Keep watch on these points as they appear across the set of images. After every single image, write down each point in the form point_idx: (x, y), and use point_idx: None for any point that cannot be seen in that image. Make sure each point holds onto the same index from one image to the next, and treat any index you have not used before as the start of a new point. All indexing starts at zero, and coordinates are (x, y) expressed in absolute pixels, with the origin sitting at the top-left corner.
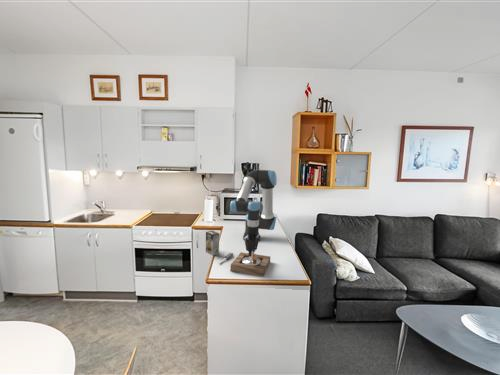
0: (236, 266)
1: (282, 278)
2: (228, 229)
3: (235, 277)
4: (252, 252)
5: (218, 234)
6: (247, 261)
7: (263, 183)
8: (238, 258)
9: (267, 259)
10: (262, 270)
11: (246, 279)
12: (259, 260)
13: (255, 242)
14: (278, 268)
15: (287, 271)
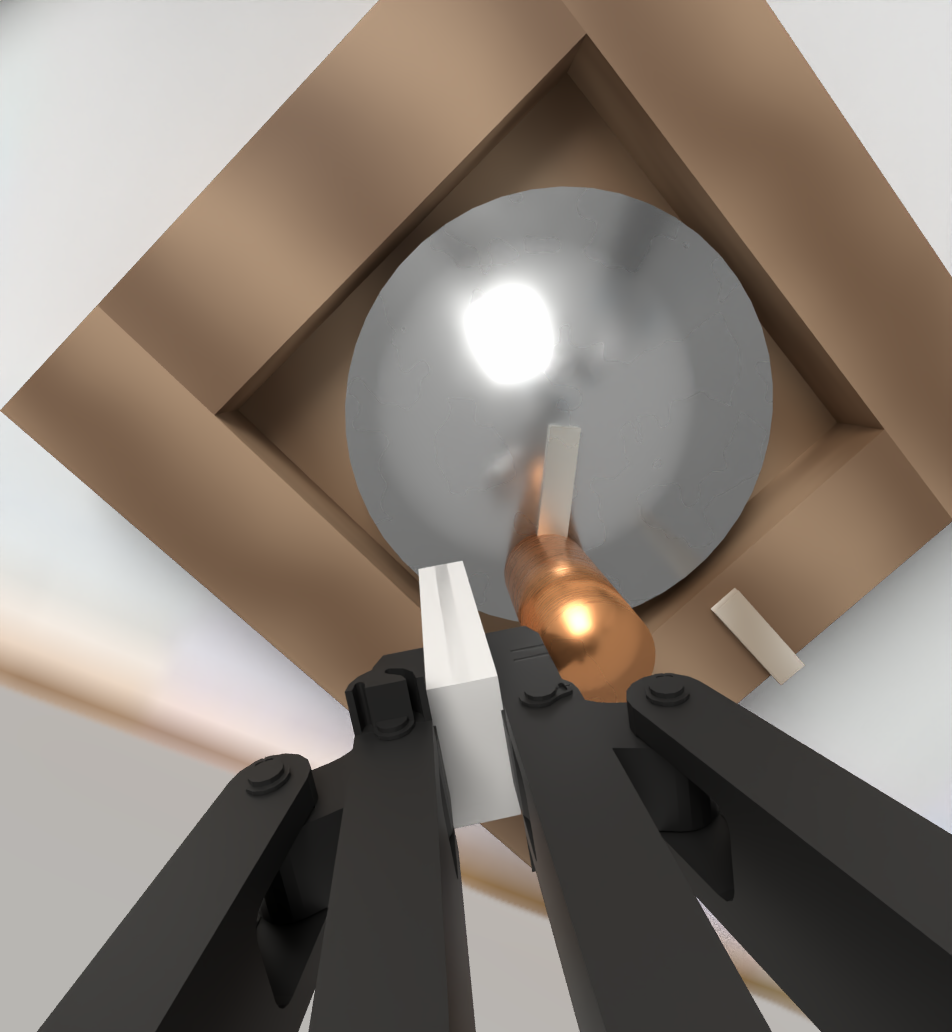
0: (128, 510)
1: (721, 925)
2: None
3: (89, 647)
4: (474, 809)
5: None
6: (454, 429)
7: None
8: (331, 165)
9: (894, 536)
10: (521, 851)
11: (236, 767)
12: (719, 503)
13: (884, 986)
14: (889, 674)
15: (927, 801)
